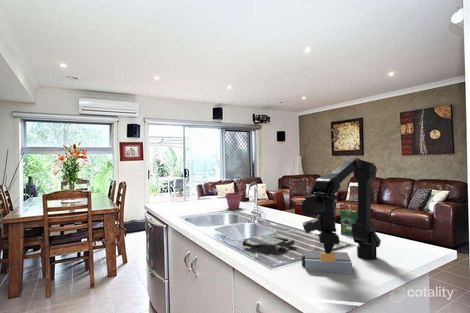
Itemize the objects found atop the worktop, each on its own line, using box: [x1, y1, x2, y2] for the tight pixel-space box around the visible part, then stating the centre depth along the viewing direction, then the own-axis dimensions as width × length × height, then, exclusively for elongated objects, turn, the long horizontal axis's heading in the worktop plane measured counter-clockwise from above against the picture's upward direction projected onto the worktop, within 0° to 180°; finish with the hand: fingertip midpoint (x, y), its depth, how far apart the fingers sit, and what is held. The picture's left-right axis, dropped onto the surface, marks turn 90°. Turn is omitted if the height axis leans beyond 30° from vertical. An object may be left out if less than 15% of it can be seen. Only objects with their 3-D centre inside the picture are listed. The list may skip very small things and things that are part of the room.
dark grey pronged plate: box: [242, 234, 295, 254], centre depth 127 cm, size 16×20×5 cm
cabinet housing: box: [301, 250, 352, 267], centre depth 102 cm, size 17×8×5 cm, turn 76°
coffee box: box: [340, 209, 357, 236], centre depth 145 cm, size 8×3×13 cm, turn 61°
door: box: [305, 252, 353, 274], centre depth 96 cm, size 16×1×8 cm, turn 76°
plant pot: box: [225, 192, 243, 210], centre depth 233 cm, size 14×14×13 cm
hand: (327, 256), depth 96 cm, fingers closed, pressing on door
